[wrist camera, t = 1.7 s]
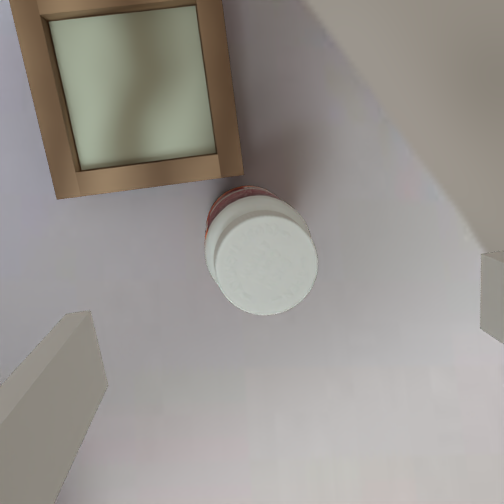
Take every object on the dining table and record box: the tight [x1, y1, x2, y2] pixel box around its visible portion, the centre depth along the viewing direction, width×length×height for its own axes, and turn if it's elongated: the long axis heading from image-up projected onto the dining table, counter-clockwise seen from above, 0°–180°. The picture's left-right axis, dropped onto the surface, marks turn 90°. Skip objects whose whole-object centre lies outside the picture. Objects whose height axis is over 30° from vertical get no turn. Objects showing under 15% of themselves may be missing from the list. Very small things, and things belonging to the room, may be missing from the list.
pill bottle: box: [205, 186, 318, 315], centre depth 26 cm, size 6×6×11 cm
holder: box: [9, 0, 244, 200], centre depth 27 cm, size 12×12×3 cm
